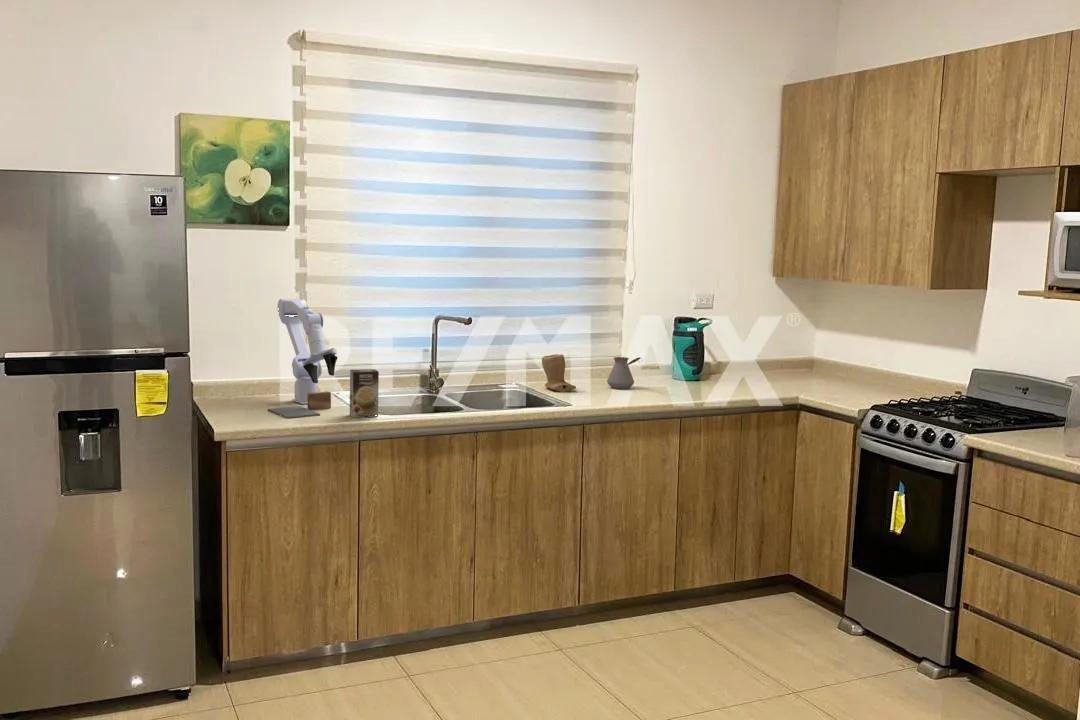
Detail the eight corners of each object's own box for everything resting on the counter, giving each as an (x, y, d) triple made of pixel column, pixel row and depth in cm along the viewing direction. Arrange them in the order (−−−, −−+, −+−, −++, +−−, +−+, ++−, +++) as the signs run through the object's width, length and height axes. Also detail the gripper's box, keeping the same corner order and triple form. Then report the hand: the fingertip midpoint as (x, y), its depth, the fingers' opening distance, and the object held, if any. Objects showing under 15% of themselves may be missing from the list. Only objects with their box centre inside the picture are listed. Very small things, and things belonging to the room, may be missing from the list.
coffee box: (352, 417, 347) (352, 372, 345) (349, 414, 353) (349, 369, 351) (379, 416, 350) (378, 371, 348) (375, 413, 356) (375, 368, 354)
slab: (307, 409, 362) (307, 393, 361) (327, 407, 366) (327, 391, 366) (310, 410, 360) (310, 394, 359) (331, 408, 364) (330, 392, 364)
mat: (267, 410, 358) (267, 408, 358) (299, 407, 365) (299, 405, 365) (287, 418, 343) (287, 416, 343) (320, 415, 350) (320, 413, 350)
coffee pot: (601, 386, 428) (602, 351, 426) (625, 385, 433) (626, 350, 431) (627, 394, 409) (628, 358, 407) (651, 392, 413) (652, 356, 412)
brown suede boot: (537, 387, 422) (538, 352, 420) (563, 386, 426) (564, 351, 424) (549, 393, 408) (550, 356, 406) (576, 392, 411) (577, 356, 409)
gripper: (294, 349, 363) (300, 384, 359) (325, 334, 357) (331, 369, 353) (307, 353, 369) (313, 387, 365) (337, 338, 363) (344, 373, 359)
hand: (323, 378), depth 359 cm, fingers open, 7 cm apart
